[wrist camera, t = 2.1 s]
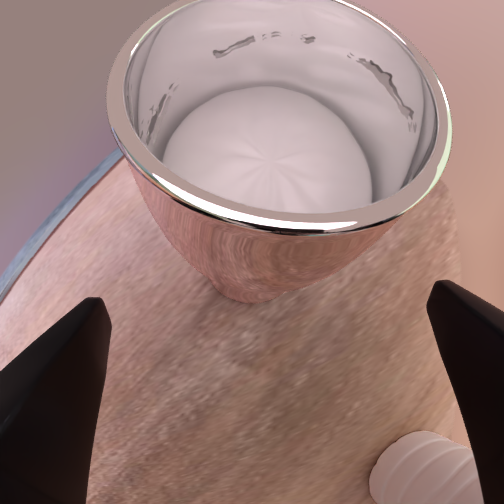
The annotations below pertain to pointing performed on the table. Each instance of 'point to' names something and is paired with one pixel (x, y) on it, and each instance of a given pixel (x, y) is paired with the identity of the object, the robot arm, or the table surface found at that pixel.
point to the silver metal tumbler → (276, 135)
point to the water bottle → (425, 472)
